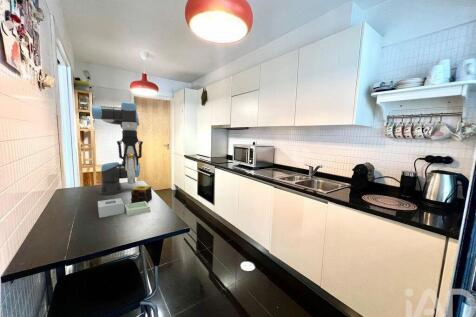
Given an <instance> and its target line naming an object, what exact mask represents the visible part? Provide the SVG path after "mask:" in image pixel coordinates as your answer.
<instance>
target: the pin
mask: <svg viewBox="0 0 476 317" xmlns="http://www.w3.org/2000/svg"><path fill="white" fill-rule="evenodd" d="M126 156H127V167H128V171H127V178H126V179H127V184H128V185H133V184H136V177H135V158H134V156H135V154H127V155H126Z"/></svg>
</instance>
